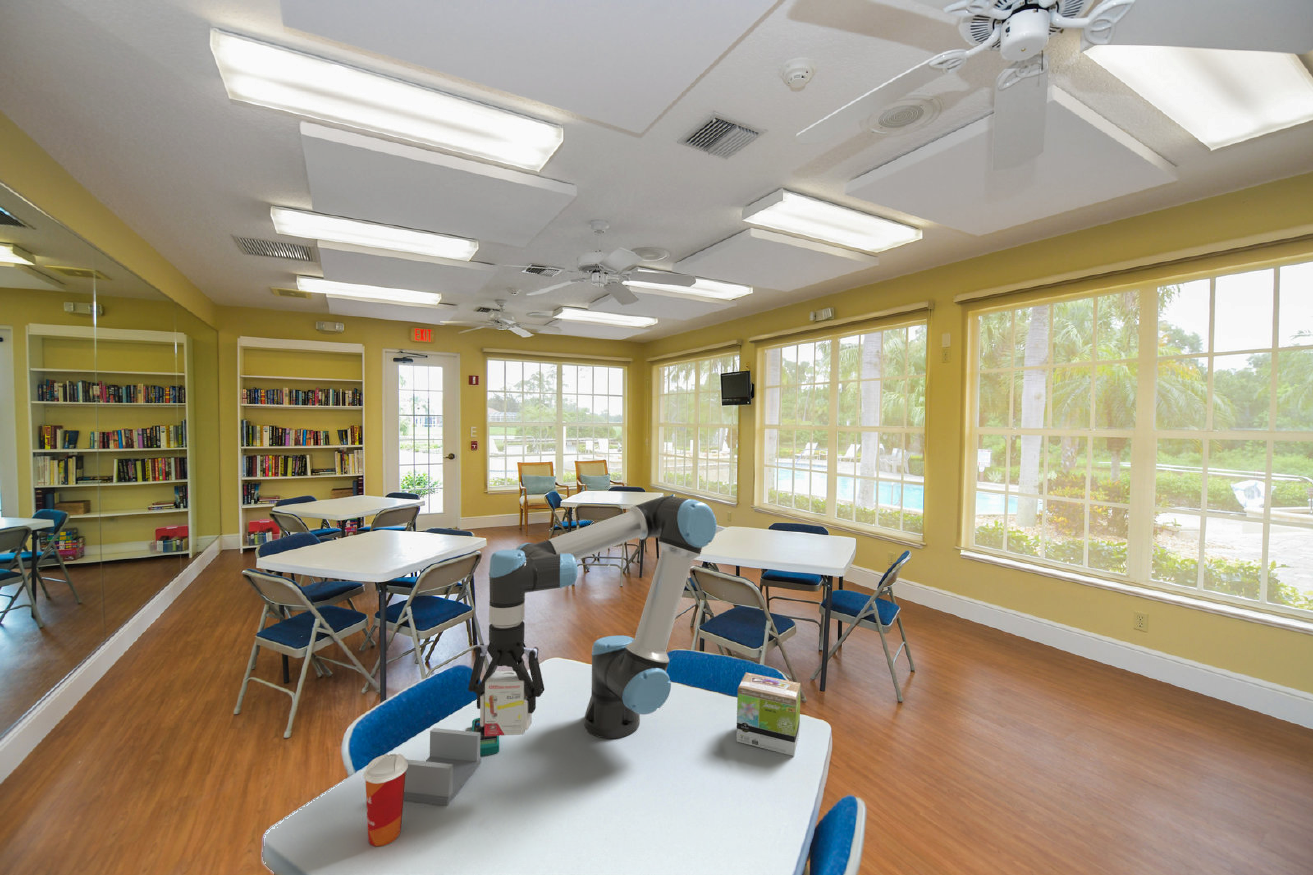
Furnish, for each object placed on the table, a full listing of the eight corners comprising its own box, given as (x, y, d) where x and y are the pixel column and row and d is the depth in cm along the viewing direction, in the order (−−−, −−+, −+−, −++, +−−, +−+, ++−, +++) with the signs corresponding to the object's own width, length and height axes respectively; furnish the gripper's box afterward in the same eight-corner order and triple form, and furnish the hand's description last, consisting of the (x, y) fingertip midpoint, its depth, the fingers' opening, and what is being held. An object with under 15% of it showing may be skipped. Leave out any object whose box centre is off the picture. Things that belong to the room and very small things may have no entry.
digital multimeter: (500, 724, 143) (500, 713, 143) (499, 755, 129) (499, 743, 129) (472, 727, 141) (472, 716, 141) (467, 759, 127) (467, 747, 127)
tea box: (735, 743, 135) (736, 686, 135) (744, 724, 144) (744, 670, 144) (795, 758, 129) (796, 698, 129) (800, 737, 138) (801, 681, 139)
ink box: (483, 737, 112) (483, 681, 112) (488, 724, 117) (489, 671, 117) (524, 735, 112) (524, 680, 112) (527, 723, 117) (528, 670, 117)
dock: (480, 762, 125) (481, 731, 125) (447, 806, 110) (448, 770, 110) (434, 757, 127) (434, 726, 127) (394, 799, 112) (395, 764, 112)
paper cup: (373, 822, 105) (374, 752, 105) (412, 820, 106) (414, 751, 106) (353, 852, 97) (355, 777, 97) (396, 850, 98) (398, 775, 98)
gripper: (560, 619, 117) (559, 719, 117) (468, 613, 120) (467, 712, 120) (549, 631, 109) (548, 739, 109) (451, 625, 112) (450, 730, 112)
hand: (506, 724), depth 114 cm, fingers closed on ink box, 9 cm apart
